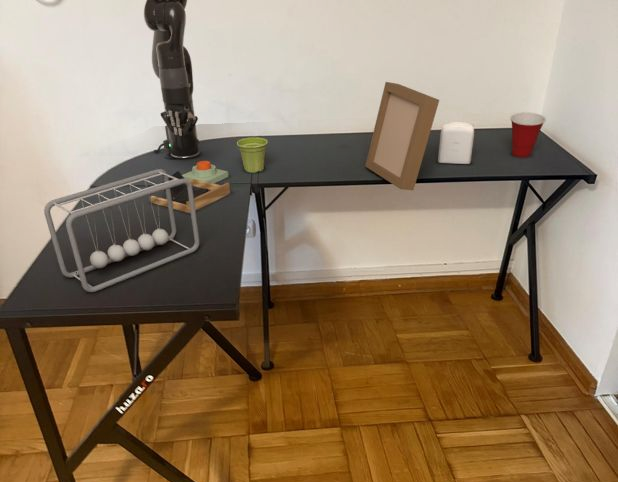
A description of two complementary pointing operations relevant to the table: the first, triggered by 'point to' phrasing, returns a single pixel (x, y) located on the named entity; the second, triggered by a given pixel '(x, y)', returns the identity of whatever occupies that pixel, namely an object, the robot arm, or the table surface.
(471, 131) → the photo printer
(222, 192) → the wooden frame
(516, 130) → the plastic cup
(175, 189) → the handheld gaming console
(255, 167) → the plant pot
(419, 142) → the photo frame
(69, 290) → the table surface
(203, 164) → the power button
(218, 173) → the switch box
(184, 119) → the robot arm
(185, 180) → the newton's cradle
